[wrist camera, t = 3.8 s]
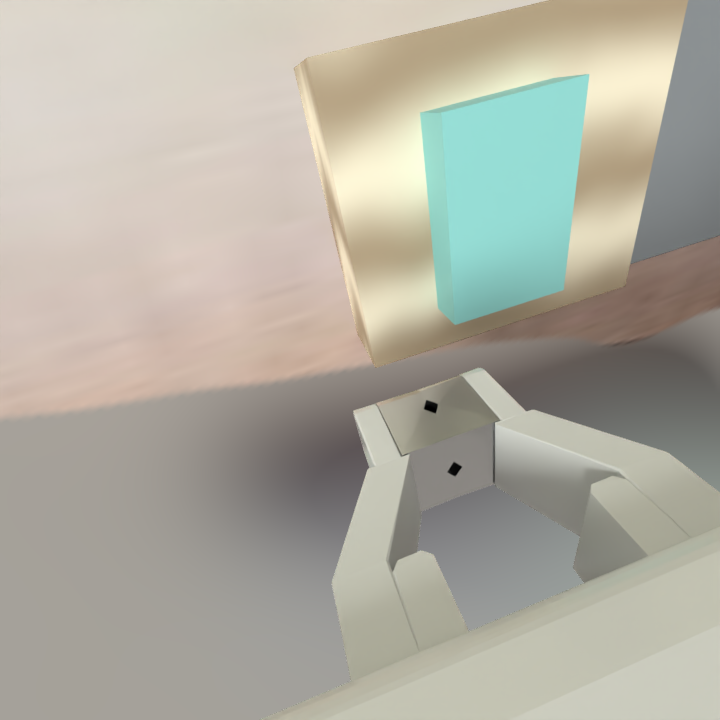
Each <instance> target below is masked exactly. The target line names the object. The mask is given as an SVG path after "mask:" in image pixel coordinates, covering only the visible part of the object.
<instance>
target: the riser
mask: <svg viewBox="0 0 720 720" xmlns="http://www.w3.org/2000/svg"><path fill="white" fill-rule="evenodd" d="M687 4H688V0H548V1H544V2H540V3H536V4H532V5H527V6H523V7H519V8H515V9H510V10H506V11H502V12H498V13H494V14H489V15H485V16H481V17H477V18H472V19H468V20H464V21H460V22H456V23H451V24H447V25H443V26H439V27H434V28H430V29H426V30H422V31H418V32H413V33H409V34H405V35H401V36H397V37H392V38H388V39H384V40H380V41H375V42H371V43H367V44H363V45H359V46H354V47H350V48H346V49H342V50H337V51H333V52H329V53H325V54H321V55H316V56H312V57H308V58H306V59H305V60H304V61H302V62H301V63H300V64H299V65H297V66H296V67H295V68H294V71H295V75H296V79H297V83H298V87H299V91H300V96H301V100H302V104H303V108H304V112H305V116H306V121H307V125H308V129H309V133H310V137H311V141H312V146H313V150H314V154H315V158H316V162H317V166H318V171H319V175H320V179H321V183H322V187H323V191H324V196H325V200H326V204H327V208H328V212H329V216H330V221H331V225H332V229H333V233H334V237H335V241H336V246H337V250H338V254H339V258H340V262H341V266H342V271H343V275H344V279H345V283H346V287H347V291H348V296H349V300H350V304H351V308H352V312H353V316H354V321H355V325H356V329H357V333H358V336H359V338H360V340H361V341H362V343H363V345H364V347H365V349H366V351H367V353H368V354H369V356H370V358H371V360H372V362H373V364H374V366H375V368H377V367H380V366H383V365H386V364H389V363H392V362H395V361H398V360H401V359H405V358H408V357H411V356H414V355H417V354H420V353H423V352H426V351H429V350H432V349H435V348H438V347H441V346H444V345H447V344H450V343H453V342H456V341H459V340H463V339H466V338H469V337H472V336H475V335H478V334H481V333H484V332H487V331H490V330H493V329H496V328H499V327H502V326H505V325H508V324H511V323H514V322H518V321H521V320H524V319H527V318H530V317H533V316H536V315H539V314H542V313H545V312H548V311H551V310H554V309H557V308H560V307H563V306H566V305H569V304H573V303H576V302H579V301H582V300H585V299H588V298H591V297H594V296H597V295H600V294H603V293H606V292H609V291H612V290H615V289H618V288H621V287H624V286H625V285H626V281H627V276H628V272H629V267H630V262H631V258H632V253H633V249H634V244H635V240H636V235H637V231H638V226H639V222H640V217H641V212H642V208H643V203H644V199H645V194H646V190H647V185H648V181H649V176H650V172H651V167H652V163H653V158H654V153H655V149H656V144H657V140H658V135H659V131H660V126H661V122H662V117H663V113H664V108H665V103H666V99H667V94H668V90H669V85H670V81H671V76H672V72H673V67H674V63H675V58H676V53H677V49H678V44H679V40H680V35H681V31H682V26H683V22H684V17H685V13H686V8H687ZM584 74H589V82H588V91H587V99H586V107H585V116H584V124H583V133H582V141H581V149H580V158H579V166H578V174H577V183H576V191H575V200H574V208H573V216H572V225H571V233H570V242H569V250H568V258H567V267H566V275H565V283H564V290H562V291H559V292H556V293H553V294H550V295H547V296H544V297H541V298H538V299H534V300H531V301H528V302H525V303H522V304H519V305H516V306H513V307H510V308H507V309H503V310H500V311H497V312H494V313H491V314H488V315H485V316H482V317H479V318H476V319H472V320H469V321H466V322H463V323H460V324H457V325H454V324H453V323H452V322H451V321H450V320H449V319H448V318H447V317H446V316H445V315H444V314H443V313H442V312H441V311H440V310H439V309H438V303H437V292H436V281H435V270H434V260H433V249H432V238H431V227H430V216H429V205H428V194H427V184H426V173H425V162H424V151H423V140H422V129H421V118H420V113H421V112H424V111H428V110H432V109H436V108H440V107H444V106H448V105H451V104H455V103H459V102H463V101H467V100H471V99H475V98H478V97H482V96H486V95H490V94H494V93H498V92H501V91H505V90H509V89H513V88H517V87H521V86H525V85H528V84H532V83H536V82H540V81H544V80H548V79H551V78H557V77H566V76H575V75H584Z"/></svg>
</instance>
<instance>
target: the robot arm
mask: <svg viewBox="0 0 720 720" xmlns="http://www.w3.org/2000/svg"><path fill="white" fill-rule="evenodd" d="M353 413H354V418H355V421H356V425H357V428H358V432H359V435H360V438H361V442H362V445H363V449H364V452H365V455H366V458H367V461H368V465H369V469H368V470H367V473H366V476H365V480H364V483H363V486H362V489H361V492H360V495H359V499H358V501H357V505H356V508H355V511H354V514H353V517H352V520H351V523H350V527H349V530H348V533H347V536H346V539H345V542H344V546H343V549H342V552H341V555H340V558H339V561H338V565H337V568H336V571H335V574H334V577H333V580H332V587H333V593H334V598H335V602H336V608H337V613H338V618H339V623H340V628H341V633H342V638H343V643H344V648H345V654H346V659H347V664H348V669H349V674H350V679H351V681H350V682H348V683H346V684H343V685H341V686H338V687H336V688H334V689H331V690H329V691H327V692H324V693H322V694H320V695H317V696H315V697H312V698H310V699H308V700H305V701H303V702H301V703H298V704H296V705H293V706H291V707H289V708H286V709H284V710H282V711H279V712H277V713H274V714H272V715H270V716H267V717H265V718H263V719H260V720H720V493H719V492H718V491H717V490H716V489H714V488H713V487H712V486H710V485H709V484H708V483H706V482H705V481H704V480H702V479H701V478H700V477H699V476H698V475H696V474H695V473H694V472H692V471H691V470H690V469H689V468H687V467H686V466H685V465H683V464H682V463H681V462H680V461H678V460H677V459H676V458H674V457H673V456H672V455H671V454H669V453H668V452H665V451H662V450H658V449H655V448H652V447H649V446H646V445H643V444H640V443H637V442H633V441H630V440H627V439H624V438H621V437H618V436H614V435H611V434H608V433H605V432H602V431H599V430H596V429H593V428H589V427H587V426H583V425H580V424H577V423H574V422H571V421H568V420H565V419H562V418H558V417H555V416H552V415H549V414H546V413H543V412H539V411H537V410H530V411H527V412H526V411H525V410H524V409H523V408H522V407H521V406H520V405H519V404H518V403H517V402H516V401H515V400H514V399H513V398H512V397H511V396H510V395H509V394H508V393H507V392H506V391H505V390H504V389H503V388H502V387H501V386H500V385H499V384H498V383H497V382H496V381H495V380H494V379H493V378H492V377H491V376H490V375H489V374H488V373H487V372H486V371H485V370H484V369H482V368H477V369H474V370H471V371H468V372H466V373H463V374H460V375H459V376H456V377H453V378H450V379H447V380H444V381H441V382H439V383H436V384H433V385H430V386H427V387H424V388H422V389H419V390H416V391H413V392H409V393H406V394H403V395H400V396H397V397H394V398H390V399H387V400H384V401H381V402H378V403H376V405H375V404H373V405H370V406H367V407H364V408H361V409H357V410H354V411H353ZM493 484H495V486H496V487H497V488H499V489H501V490H502V491H504V492H506V493H507V494H509V495H511V496H513V497H515V498H516V499H518V500H519V501H521V502H523V503H524V504H526V505H528V506H529V507H531V508H533V509H534V510H536V511H538V512H540V513H541V514H543V515H545V516H547V517H548V518H550V519H551V520H553V521H555V522H557V523H558V524H560V525H562V526H563V527H565V528H567V529H568V530H570V531H572V532H573V533H575V534H577V535H578V536H580V538H579V543H578V547H577V552H576V556H575V561H574V566H573V568H574V570H575V571H576V572H577V574H578V575H579V576H580V578H581V579H582V581H583V582H584V583H583V584H581V585H579V586H576V587H574V588H571V589H569V590H566V591H564V592H562V593H559V594H557V595H555V596H552V597H550V598H547V599H545V600H543V601H540V602H538V603H536V604H533V605H531V606H528V607H526V608H524V609H521V610H519V611H517V612H515V613H512V614H509V615H507V616H505V617H502V618H500V619H498V620H495V621H493V622H490V623H488V624H486V625H484V626H481V627H479V628H476V629H474V630H471V631H468V628H467V626H466V624H465V622H464V620H463V617H462V615H461V613H460V611H459V609H458V607H457V604H456V602H455V600H454V598H453V596H452V594H451V591H450V590H449V587H448V585H447V583H446V581H445V578H444V576H443V574H442V572H441V570H440V568H439V565H438V563H437V561H436V559H435V557H434V555H433V554H430V553H427V552H425V551H419V552H417V548H418V540H419V532H420V524H421V516H422V515H421V512H422V511H425V510H427V509H430V508H432V507H434V506H437V505H439V504H441V503H444V502H447V501H449V500H451V499H454V498H456V497H459V496H462V495H465V494H468V493H470V492H473V491H476V490H479V489H482V488H485V487H488V486H490V485H493Z"/></svg>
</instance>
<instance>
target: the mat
mask: <svg viewBox="0 0 720 720" xmlns="http://www.w3.org/2000/svg"><path fill="white" fill-rule="evenodd" d="M719 235H720V0H688V4H687V8H686V13H685V17H684V22H683V26H682V31H681V35H680V40H679V44H678V49H677V53H676V58H675V63H674V67H673V72H672V76H671V81H670V85H669V90H668V94H667V99H666V103H665V108H664V113H663V117H662V122H661V126H660V131H659V135H658V140H657V144H656V149H655V153H654V158H653V163H652V167H651V172H650V176H649V181H648V185H647V190H646V194H645V199H644V203H643V208H642V212H641V217H640V222H639V226H638V231H637V235H636V240H635V244H634V249H633V253H632V258H631V262H630V264H632V263H635V262H638V261H642V260H645V259H648V258H651V257H654V256H657V255H660V254H663V253H666V252H670V251H673V250H676V249H679V248H682V247H685V246H688V245H691V244H695V243H698V242H701V241H704V240H707V239H710V238H713V237H716V236H719Z"/></svg>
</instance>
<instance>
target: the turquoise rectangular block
mask: <svg viewBox="0 0 720 720" xmlns="http://www.w3.org/2000/svg"><path fill="white" fill-rule="evenodd" d="M588 82H589V74H584V75H575V76H566V77H557V78H551V79H548V80H544V81H540V82H536V83H532V84H528V85H525V86H521V87H517V88H513V89H509V90H505V91H501V92H498V93H494V94H490V95H486V96H482V97H478V98H475V99H471V100H467V101H463V102H459V103H455V104H451V105H448V106H444V107H440V108H436V109H432V110H428V111H424V112H421V113H420V118H421V129H422V140H423V151H424V162H425V173H426V184H427V194H428V205H429V216H430V227H431V238H432V249H433V260H434V270H435V281H436V292H437V303H438V309H439V310H440V311H441V312H442V313H443V314H444V315H445V316H446V317H447V318H448V319H449V320H450V321H451V322H452V323H453V324H454V325H457V324H460V323H463V322H466V321H469V320H472V319H476V318H479V317H482V316H485V315H488V314H491V313H494V312H497V311H500V310H503V309H507V308H510V307H513V306H516V305H519V304H522V303H525V302H528V301H531V300H534V299H538V298H541V297H544V296H547V295H550V294H553V293H556V292H559V291H562V290H564V283H565V275H566V267H567V258H568V250H569V242H570V233H571V225H572V216H573V208H574V200H575V191H576V183H577V174H578V166H579V158H580V149H581V141H582V133H583V124H584V116H585V107H586V99H587V91H588Z"/></svg>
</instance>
